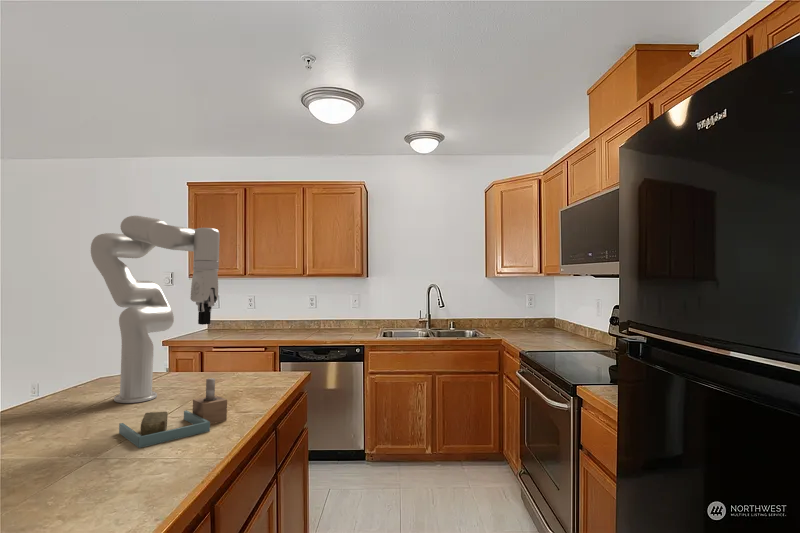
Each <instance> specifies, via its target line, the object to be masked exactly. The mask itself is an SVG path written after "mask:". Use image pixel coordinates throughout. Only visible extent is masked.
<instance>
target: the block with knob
mask: <svg viewBox="0 0 800 533" xmlns="http://www.w3.org/2000/svg"><path fill="white" fill-rule="evenodd" d="M205 382H206V383H205V385H206V386H205V397H198V398H193V399H192V413H193V414H195V415H197V416H199V417H201V418H203V419H205V420H207V421H209V422H210V425H213V424H216V423H220V422H226V421H227V419H228V418H227V417H228V399H226V398H224V397H222V396H219V395H215V394H216V392H215V391H216V378H213V377H210V378H206V381H205Z"/></svg>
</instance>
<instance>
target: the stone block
mask: <svg viewBox="0 0 800 533" xmlns="http://www.w3.org/2000/svg"><path fill="white" fill-rule="evenodd" d="M168 414H169V412H168V411H152V412H145V413H144V416H143V418H142V419H141V423H140V435H141V436H144V435H149V434H153V433H158V432H162V431H167V428H168Z"/></svg>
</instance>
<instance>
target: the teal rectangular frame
mask: <svg viewBox="0 0 800 533" xmlns="http://www.w3.org/2000/svg"><path fill="white" fill-rule="evenodd" d="M183 420H184V421H186V422H187V421H188V423H189V422H190V423H189V424H191V425H185V426H181V427H177V428H176V427H175V428H173V429H168V430H167V429H166V431H162V432H158V433H153V434H149V435H144V436H141V433H138V432H137V431H135V430H133V428H131V427H130V426H128V425H127V424H125V423H124V422H120V423H119V425H118V426H119V428H118V434H119V435H121V436H122V437H124V438H125V439H126V440H128V441H129V442H130V443H132V444H133V445H134V446H136V447H137V448H138V449H140V448H145V447H148V446H153V445H158V444H162V443H165V441H166V442H170V441H174V439H175V440H178V439H181V438H186V437H191V436H195V435H199V434H203V433H207V432H210V431H211V424H210V422H209V421H207V420H205V419H203V418H201V417H199V416H197V415H195V414H193V412H191V411H189V410H184V411H183ZM169 440H170V441H169Z"/></svg>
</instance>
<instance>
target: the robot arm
mask: <svg viewBox="0 0 800 533" xmlns="http://www.w3.org/2000/svg"><path fill="white" fill-rule="evenodd" d="M120 231H121V233H116V232H115V233H114V232H113V233H112V232H111V233H110V232H105V233H104V232H103V233H100V234H98V235H96V236H95V237H94V238H93V239H92V241H91V243H90V256H91V260H92V262H93V264H94V266H95V267H96V269H97V270H98V272H99V273H100V275H101V276H102V278H103V279H104V282H105V284H106V286H107V288H108V289H107V290H108V291H109V293H110V295H111V297H112V299H113V301H114V303H115V304H116V306H118V307H120V308H125V309H123V310H122V312H121V313H120V315H119V316H118V317H119V318H118V325H119V329H120V330H119V331H120V337H121V350H120V352H121V353H120V354H121V356H120V358H121V359H120V378H119V379H120V381H119V384H120V385H119V394H117V395H115V396H114V397H113V398H114V400H113V401H114V402H116V403H120V404H134V403H136V404H137V403H141V402H142V403H143V402H147V401H152V400H154V399H156V398H157V397H158V393H157V392H156V391H153V376H154V375H153V371H154V370H153V369H154V344H153V343H154V342H153V341H152V339H151V337H150V335H149V334H151V333H157V332H159V333H160V332H165V331H168V330H169V329H171V327H173V325H174V319H175V318H174V317H175V315H174V312H173V310H172V307H171V305H170V303H169V302H168V300H167V297H166V296H165V293H164V291H163V290H162V288H161V286H160V285H159V284H157V283H156V282H155V281H150V280H138V279H136V278H135V276H134V275H133V273H132V271H131V269H130V268H129V266H128V264H125V263H124V262H123V261H122V260H120V259H121V258H123V259H140V258H143V257H145V256H147V254H148V253H150V252H151V251H152V250H153V249H154V248H156V247H157V248H161V249H166V250H170V251H171V250H172V251H182V252H183V251H184V252H193V259H192V260H193V261H192V262H193V264H192V266H193V268H192V271H193V274H192V278H191V288H190V300H191V302H195V305H196V306H197V311H198V314H197V315H198V317H197V318H198V319H197V324H198V325H200V326H201V325H210V324H211V313H212V309H213V308H214V306H215V302H217V301H218V299H219V298H218V297H219V277H218V276H219V275H218V272H219V271H220V269H219V268H220V241H221V240H220V237H221V236H220V235H221V234H220V231H219V230H218V229H216V228H212V227H198V228H190V227H183V226H177V225H169V224H168V223H167V222H166V221H164V220H161V219H158V218H155V217H148V216H142V215H130V216H127V217H125V218H123V220H122V221H121V222H120Z"/></svg>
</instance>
